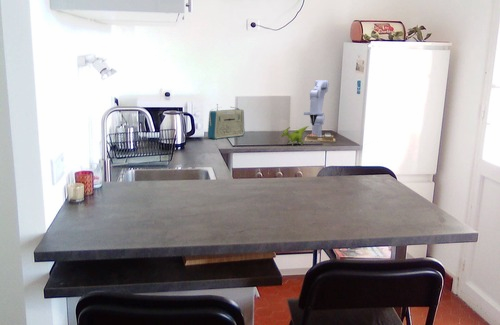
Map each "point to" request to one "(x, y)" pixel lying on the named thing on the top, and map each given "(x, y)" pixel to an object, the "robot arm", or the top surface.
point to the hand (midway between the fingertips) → (313, 125)
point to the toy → (295, 135)
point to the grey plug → (327, 134)
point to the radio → (226, 123)
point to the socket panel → (316, 139)
